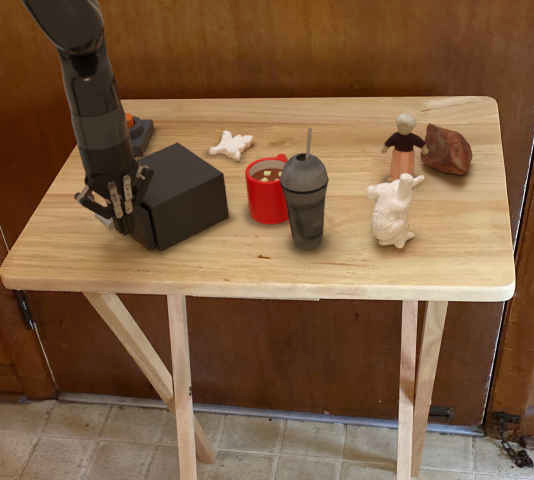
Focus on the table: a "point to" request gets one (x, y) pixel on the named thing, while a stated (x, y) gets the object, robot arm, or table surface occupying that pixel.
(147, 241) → the drawer
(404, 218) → the white rabbit figurine
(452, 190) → the table surface
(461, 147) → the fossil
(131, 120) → the button
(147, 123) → the control block
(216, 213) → the cabinet
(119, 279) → the table surface
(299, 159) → the beverage cup
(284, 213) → the mug
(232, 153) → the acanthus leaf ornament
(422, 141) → the grandmother figurine
